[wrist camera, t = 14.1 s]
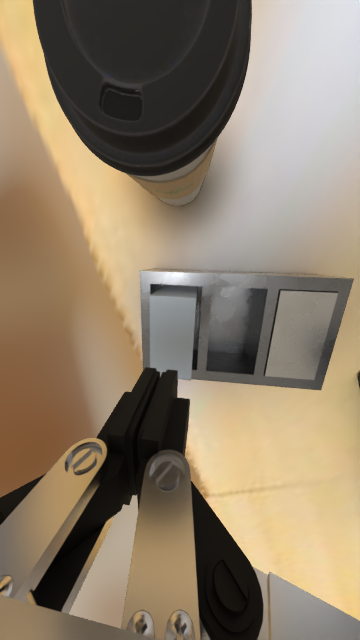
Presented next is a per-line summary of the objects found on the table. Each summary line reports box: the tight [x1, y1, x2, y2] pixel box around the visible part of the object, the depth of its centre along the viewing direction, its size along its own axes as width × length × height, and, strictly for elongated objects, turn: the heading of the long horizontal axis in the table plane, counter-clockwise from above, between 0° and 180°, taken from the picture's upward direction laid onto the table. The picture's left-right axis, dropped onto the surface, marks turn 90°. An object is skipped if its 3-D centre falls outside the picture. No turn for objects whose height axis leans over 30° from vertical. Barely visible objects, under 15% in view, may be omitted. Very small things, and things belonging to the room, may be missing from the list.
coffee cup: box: [33, 0, 252, 206], centre depth 14 cm, size 9×9×15 cm
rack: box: [140, 269, 354, 390], centre depth 23 cm, size 20×12×6 cm, turn 88°
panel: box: [150, 285, 198, 380], centre depth 21 cm, size 4×8×8 cm, turn 178°
